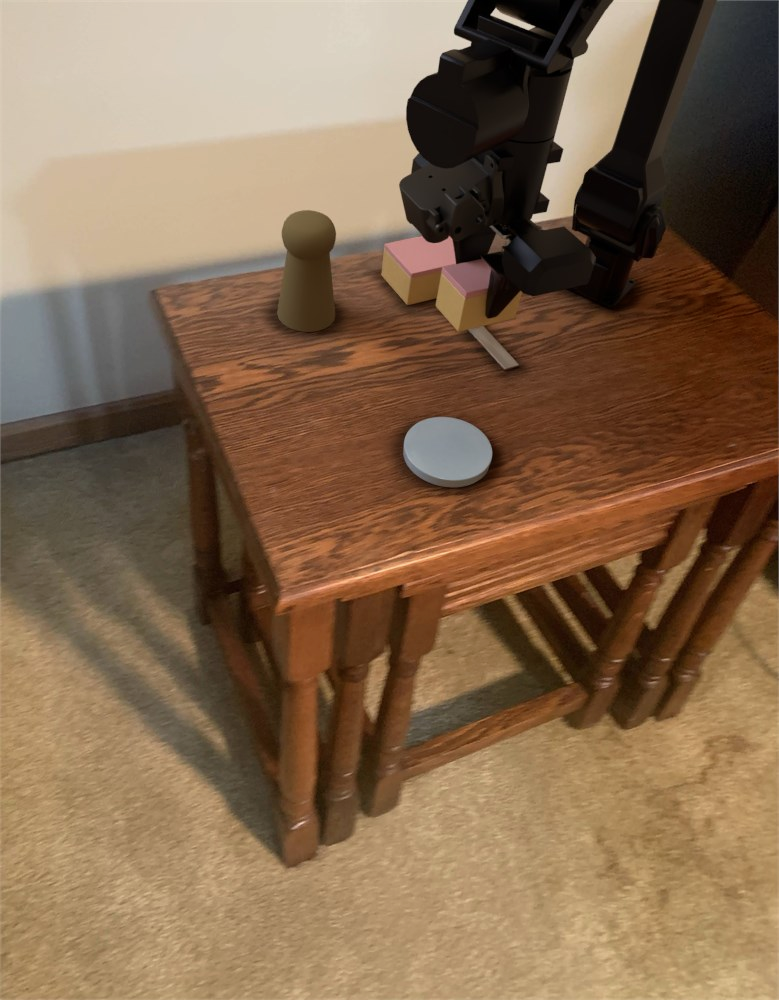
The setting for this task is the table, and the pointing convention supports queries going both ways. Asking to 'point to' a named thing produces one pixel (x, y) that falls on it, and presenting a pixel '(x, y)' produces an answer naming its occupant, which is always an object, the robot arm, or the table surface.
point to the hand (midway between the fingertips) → (477, 302)
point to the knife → (493, 348)
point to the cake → (416, 267)
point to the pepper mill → (307, 272)
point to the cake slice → (469, 296)
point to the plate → (447, 452)
